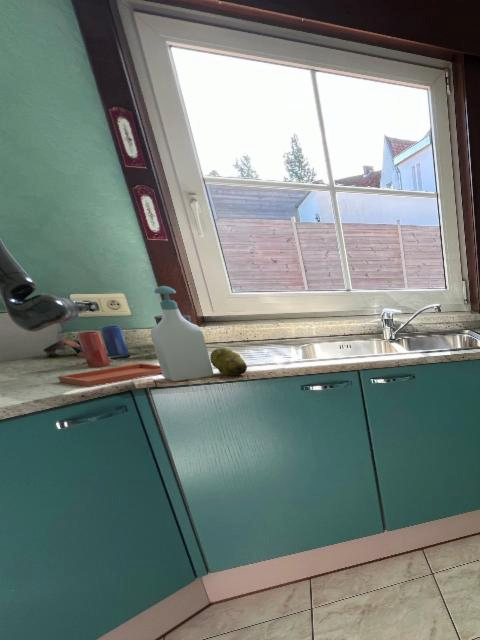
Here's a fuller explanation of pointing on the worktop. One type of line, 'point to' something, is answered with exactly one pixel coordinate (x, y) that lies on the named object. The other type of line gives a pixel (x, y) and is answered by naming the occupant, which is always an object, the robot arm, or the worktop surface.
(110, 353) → the blue cup
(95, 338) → the red cup
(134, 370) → the tray
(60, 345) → the black and orange arch
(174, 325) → the soap bottle
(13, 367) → the worktop surface
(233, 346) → the worktop surface
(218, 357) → the green oval piece
